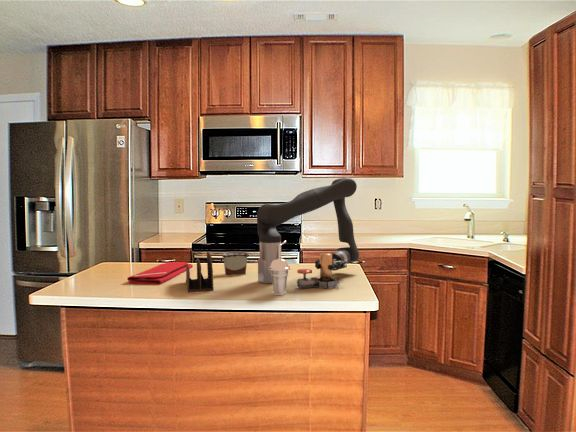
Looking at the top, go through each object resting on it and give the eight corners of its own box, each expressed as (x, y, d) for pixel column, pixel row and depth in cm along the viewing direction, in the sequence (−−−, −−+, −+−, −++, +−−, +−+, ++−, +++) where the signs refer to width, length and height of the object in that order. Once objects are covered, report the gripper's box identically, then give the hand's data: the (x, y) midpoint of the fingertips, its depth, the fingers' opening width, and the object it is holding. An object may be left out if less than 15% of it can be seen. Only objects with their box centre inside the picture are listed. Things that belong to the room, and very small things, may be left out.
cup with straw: (264, 293, 194) (263, 241, 192) (283, 290, 199) (283, 240, 197) (276, 297, 187) (276, 244, 185) (295, 294, 192) (295, 242, 190)
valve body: (303, 291, 197) (303, 272, 196) (292, 286, 205) (293, 269, 204) (340, 286, 204) (341, 269, 204) (329, 282, 213) (329, 265, 212)
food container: (245, 271, 237) (245, 250, 236) (248, 274, 231) (248, 252, 230) (219, 273, 233) (219, 252, 232) (222, 275, 227) (222, 254, 226)
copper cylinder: (323, 284, 203) (323, 255, 202) (317, 282, 208) (317, 253, 207) (334, 283, 205) (334, 254, 204) (328, 281, 210) (328, 252, 209)
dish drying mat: (193, 268, 249) (193, 260, 249) (161, 286, 209) (161, 277, 208) (163, 267, 251) (163, 259, 251) (126, 284, 211) (126, 276, 211)
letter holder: (209, 281, 216) (209, 249, 215) (213, 291, 197) (213, 256, 196) (185, 282, 214) (185, 249, 213) (187, 292, 195) (187, 257, 194)
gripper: (321, 250, 221) (307, 256, 206) (352, 252, 216) (340, 259, 200) (321, 267, 222) (307, 274, 207) (352, 270, 216) (340, 277, 201)
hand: (323, 267), depth 203 cm, fingers closed on copper cylinder, 5 cm apart
